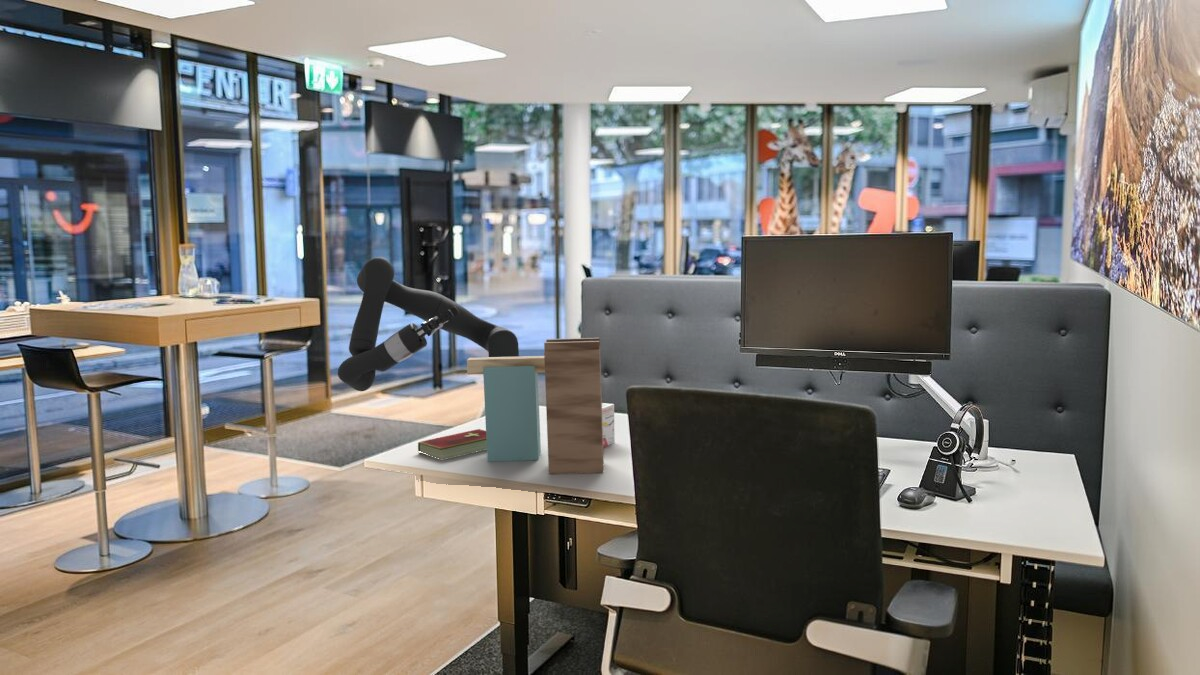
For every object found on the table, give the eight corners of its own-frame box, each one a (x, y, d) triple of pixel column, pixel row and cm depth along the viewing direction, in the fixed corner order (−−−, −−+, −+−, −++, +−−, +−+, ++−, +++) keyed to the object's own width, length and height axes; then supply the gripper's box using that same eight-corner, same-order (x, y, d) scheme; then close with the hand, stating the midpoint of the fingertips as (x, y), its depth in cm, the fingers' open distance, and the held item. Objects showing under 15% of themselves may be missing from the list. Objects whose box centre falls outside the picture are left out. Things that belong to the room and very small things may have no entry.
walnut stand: (551, 463, 232) (547, 338, 228) (603, 462, 232) (599, 337, 228) (548, 474, 222) (543, 343, 218) (603, 472, 222) (599, 342, 218)
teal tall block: (491, 453, 245) (487, 363, 241) (540, 452, 244) (537, 362, 241) (487, 461, 237) (483, 367, 233) (538, 460, 236) (534, 366, 233)
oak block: (470, 372, 240) (469, 357, 239) (559, 369, 239) (559, 355, 239) (467, 374, 236) (466, 359, 235) (558, 372, 235) (558, 357, 235)
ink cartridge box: (600, 449, 246) (599, 398, 244) (586, 447, 248) (584, 397, 247) (615, 442, 253) (614, 393, 251) (601, 441, 256) (599, 392, 254)
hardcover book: (418, 455, 248) (417, 440, 247) (478, 441, 262) (478, 427, 261) (441, 462, 239) (440, 447, 238) (502, 447, 253) (501, 433, 252)
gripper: (391, 334, 229) (441, 301, 227) (403, 328, 243) (451, 297, 241) (407, 358, 229) (457, 325, 228) (418, 350, 243) (466, 319, 242)
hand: (454, 311), depth 235 cm, fingers open, 8 cm apart
